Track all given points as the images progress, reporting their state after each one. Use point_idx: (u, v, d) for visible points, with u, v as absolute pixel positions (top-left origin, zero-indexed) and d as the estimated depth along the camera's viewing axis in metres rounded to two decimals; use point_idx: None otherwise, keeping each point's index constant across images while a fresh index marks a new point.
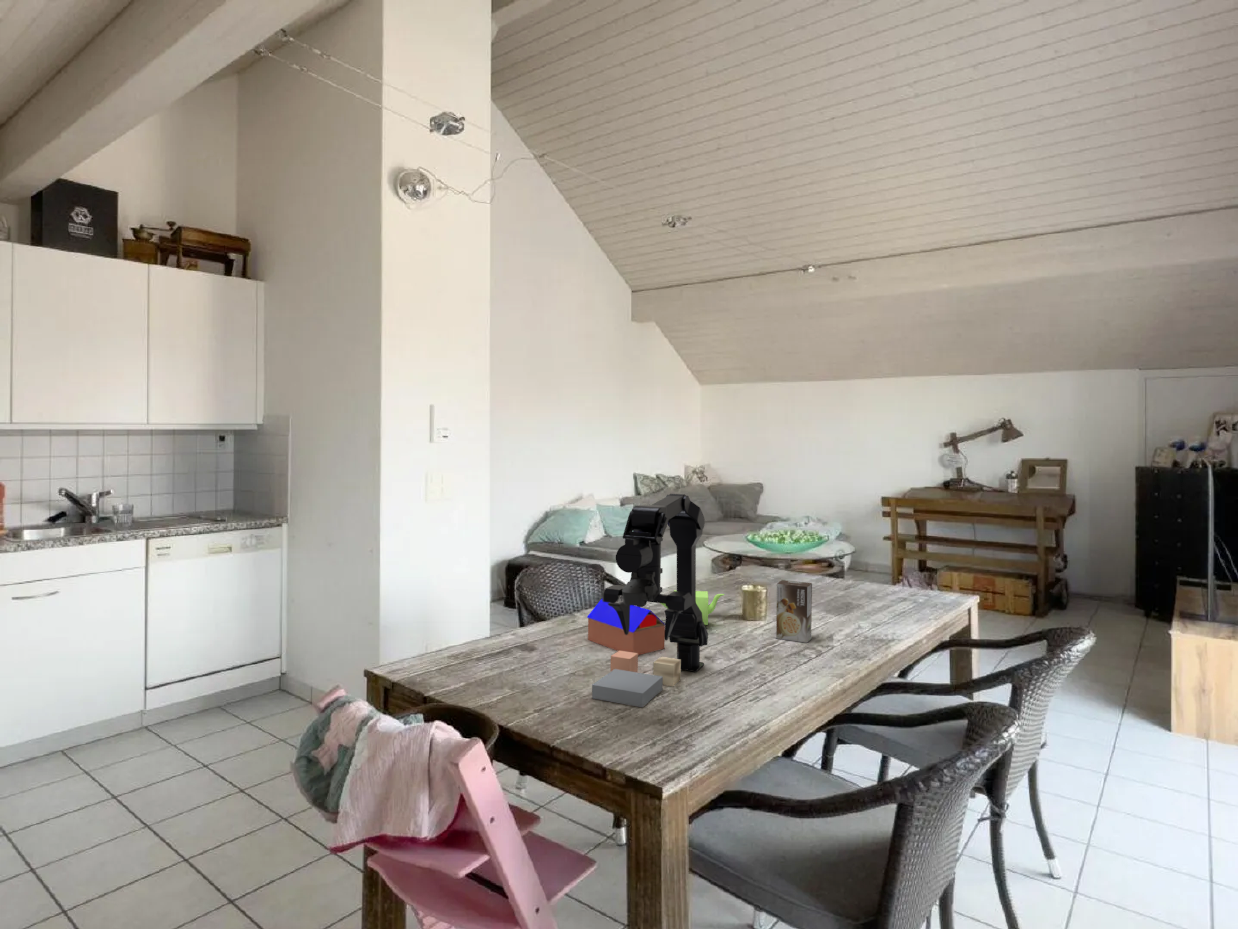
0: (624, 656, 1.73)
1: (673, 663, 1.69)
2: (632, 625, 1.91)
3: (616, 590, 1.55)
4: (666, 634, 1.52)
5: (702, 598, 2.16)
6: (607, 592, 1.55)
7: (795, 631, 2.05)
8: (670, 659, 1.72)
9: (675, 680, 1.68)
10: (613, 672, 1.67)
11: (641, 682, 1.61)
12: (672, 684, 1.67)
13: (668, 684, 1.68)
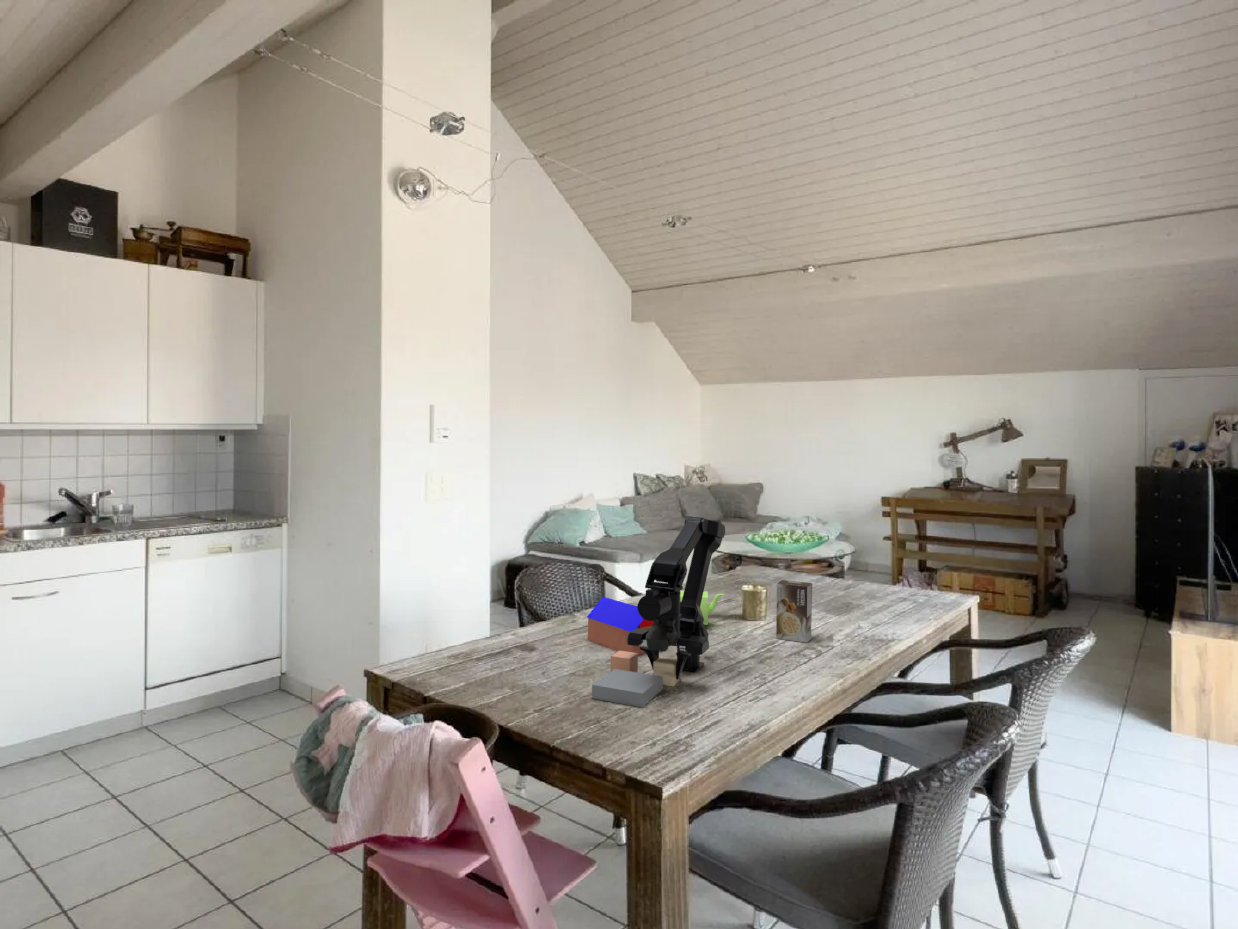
0: (624, 656, 1.73)
1: (673, 662, 1.69)
2: (632, 625, 1.91)
3: (639, 634, 1.70)
4: (677, 674, 1.68)
5: (702, 598, 2.16)
6: (631, 636, 1.71)
7: (795, 631, 2.05)
8: (670, 658, 1.72)
9: (675, 679, 1.68)
10: (613, 672, 1.67)
11: (641, 682, 1.61)
12: (672, 684, 1.67)
13: (668, 684, 1.68)
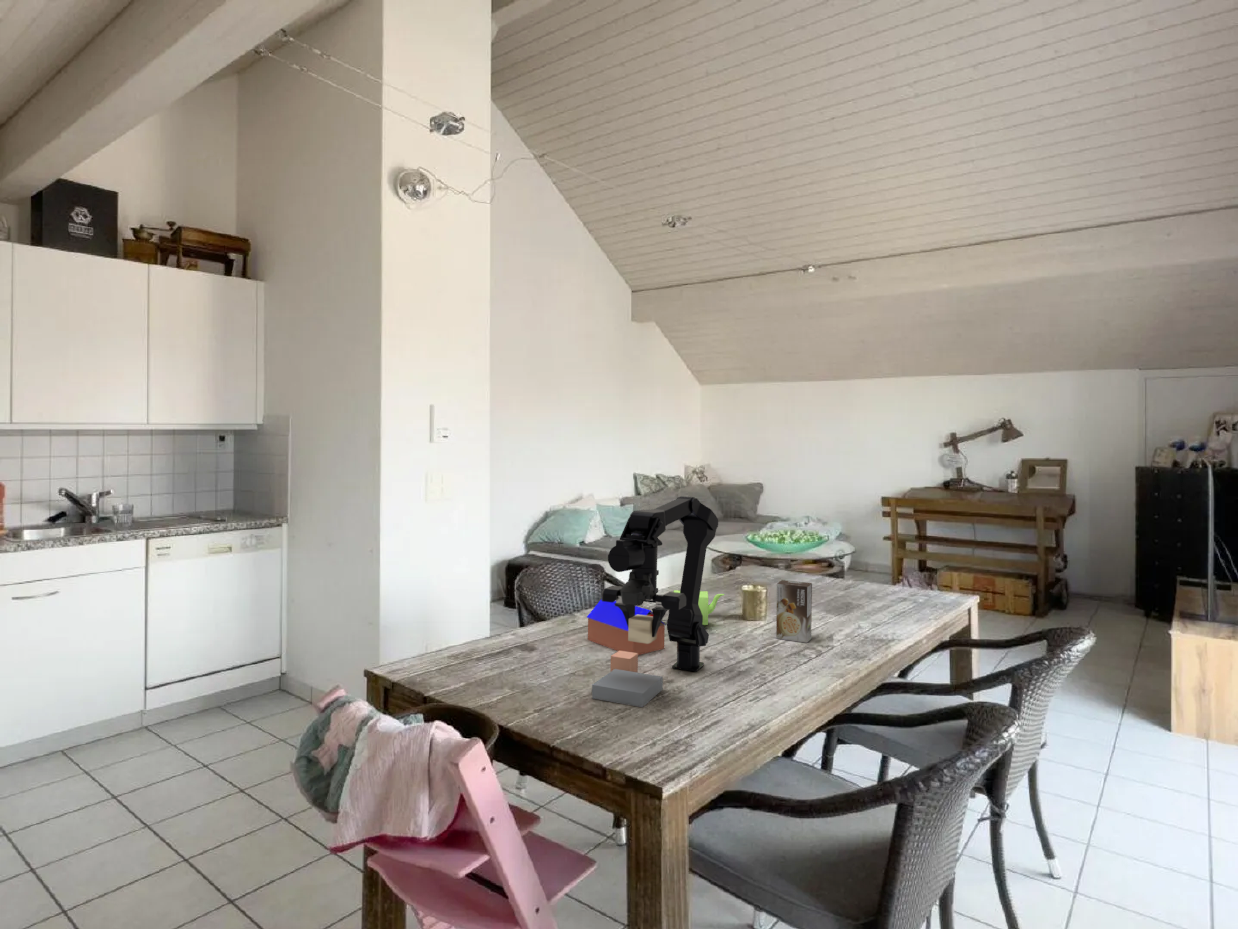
0: (624, 656, 1.73)
1: (649, 619, 1.63)
2: None
3: (615, 590, 1.64)
4: (653, 631, 1.62)
5: (702, 598, 2.16)
6: (606, 592, 1.65)
7: (795, 631, 2.05)
8: (646, 616, 1.66)
9: (651, 637, 1.62)
10: (613, 672, 1.67)
11: (641, 682, 1.61)
12: (648, 641, 1.61)
13: (643, 641, 1.61)
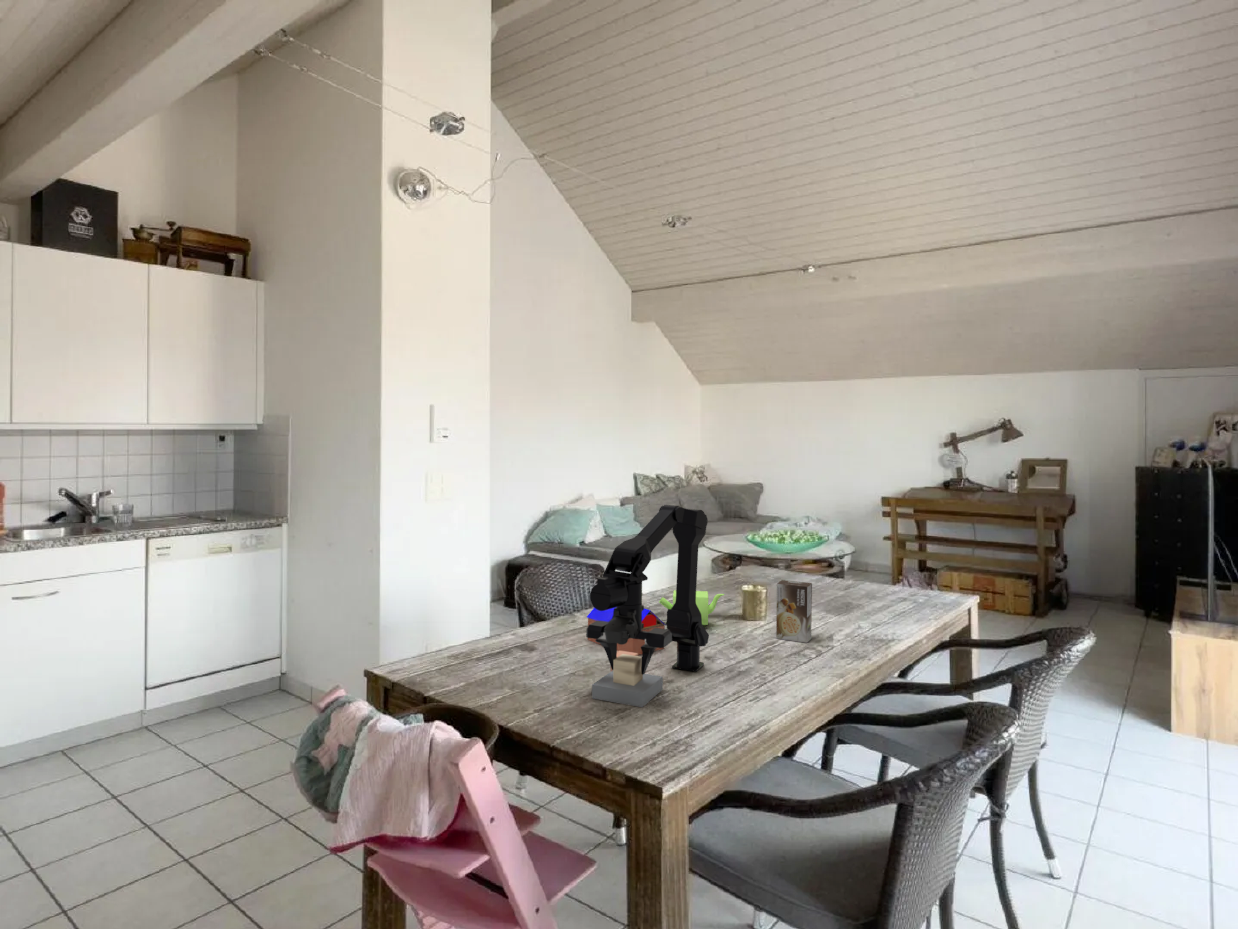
0: None
1: (634, 660, 1.60)
2: None
3: (599, 627, 1.62)
4: (643, 669, 1.60)
5: (702, 598, 2.16)
6: (591, 628, 1.62)
7: (795, 631, 2.05)
8: (632, 656, 1.63)
9: (636, 678, 1.60)
10: None
11: (641, 682, 1.61)
12: (633, 683, 1.59)
13: (629, 683, 1.59)
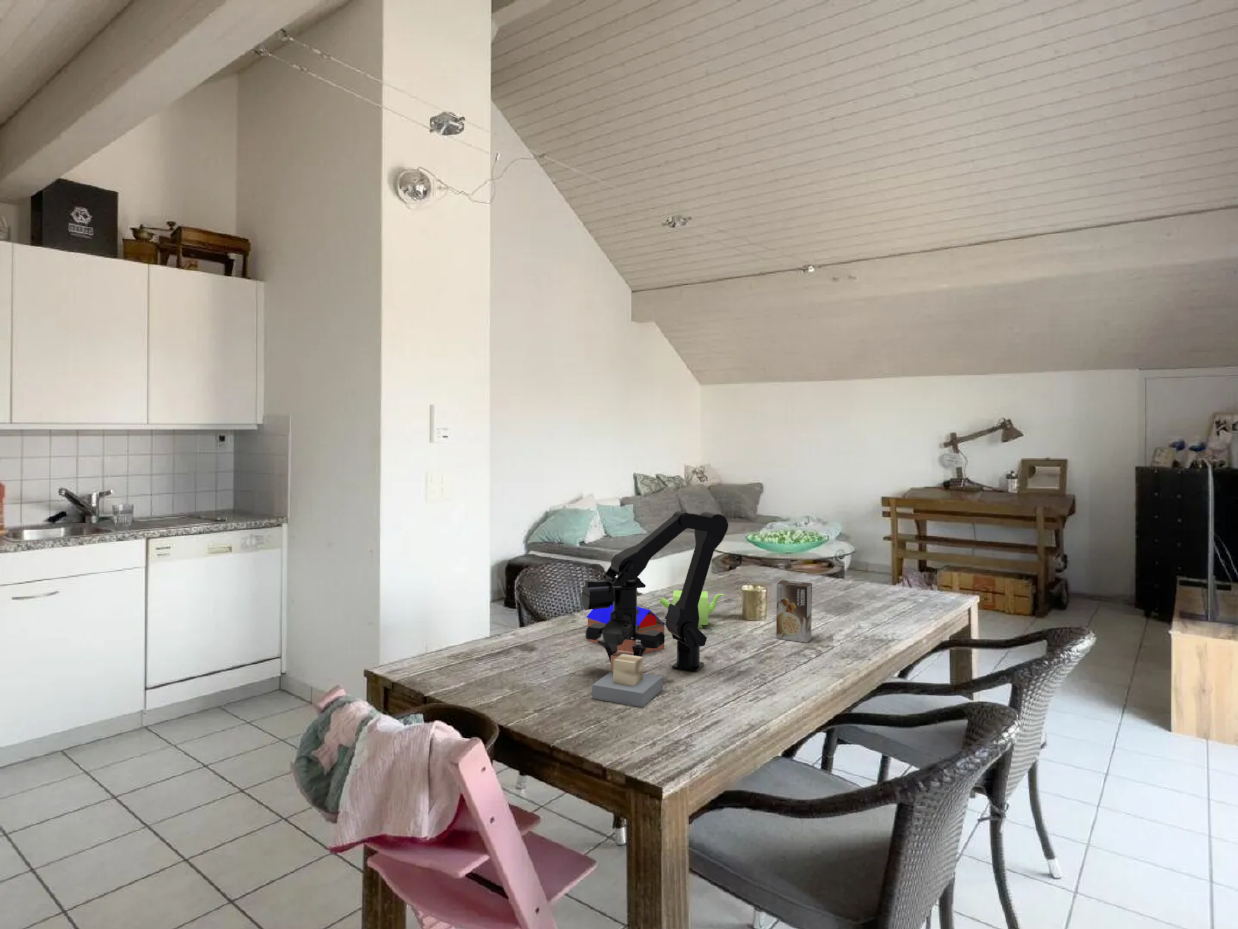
0: None
1: (634, 660, 1.60)
2: None
3: (597, 629, 1.75)
4: None
5: (702, 598, 2.16)
6: (589, 630, 1.75)
7: (795, 631, 2.05)
8: (632, 656, 1.63)
9: (636, 678, 1.60)
10: None
11: (641, 682, 1.61)
12: (633, 683, 1.59)
13: (629, 683, 1.59)
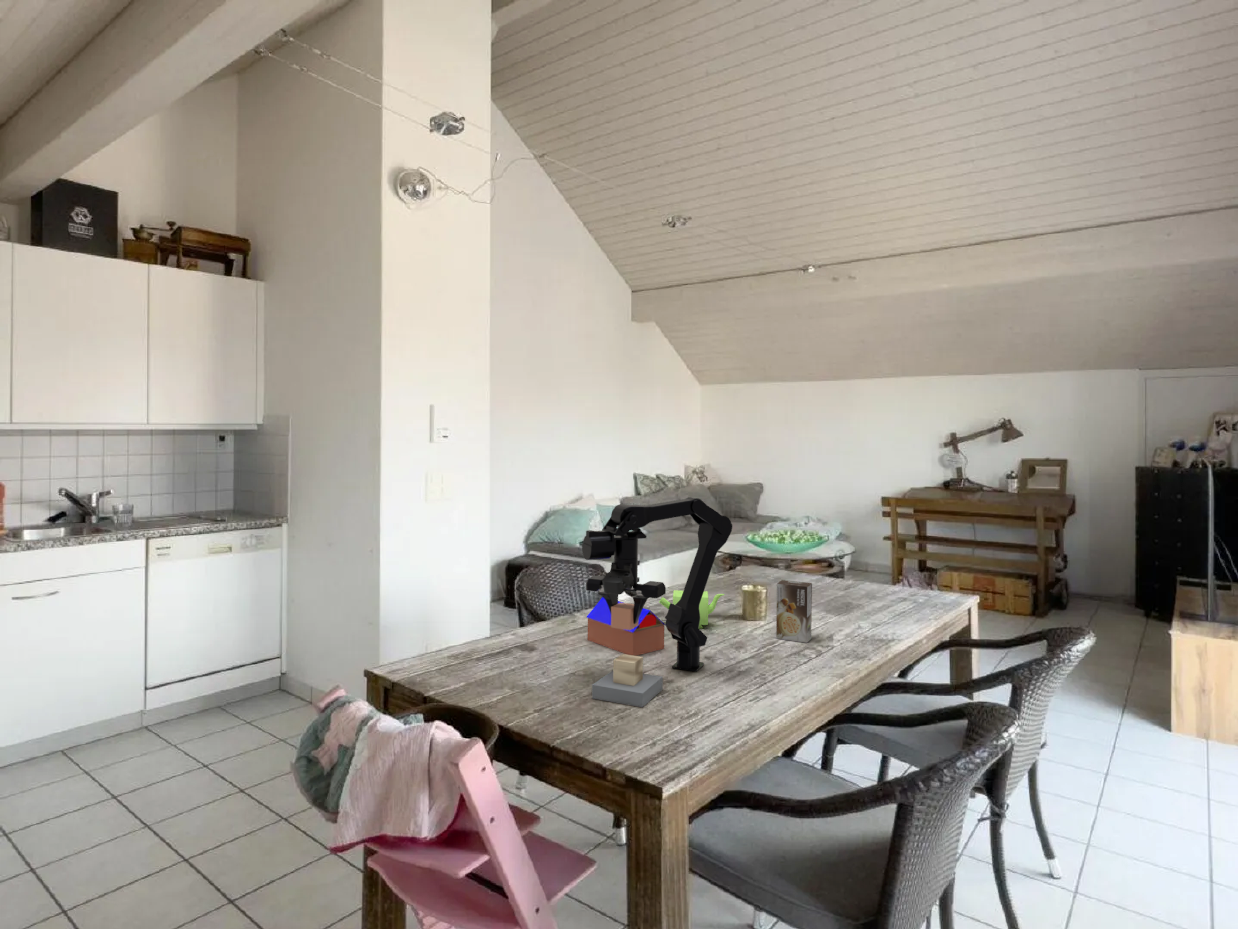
0: (625, 607, 1.72)
1: (634, 660, 1.60)
2: None
3: (598, 580, 1.74)
4: (634, 618, 1.72)
5: (702, 598, 2.16)
6: (590, 582, 1.74)
7: (795, 631, 2.05)
8: (632, 656, 1.63)
9: (636, 678, 1.60)
10: None
11: (641, 682, 1.61)
12: (633, 683, 1.59)
13: (629, 683, 1.59)
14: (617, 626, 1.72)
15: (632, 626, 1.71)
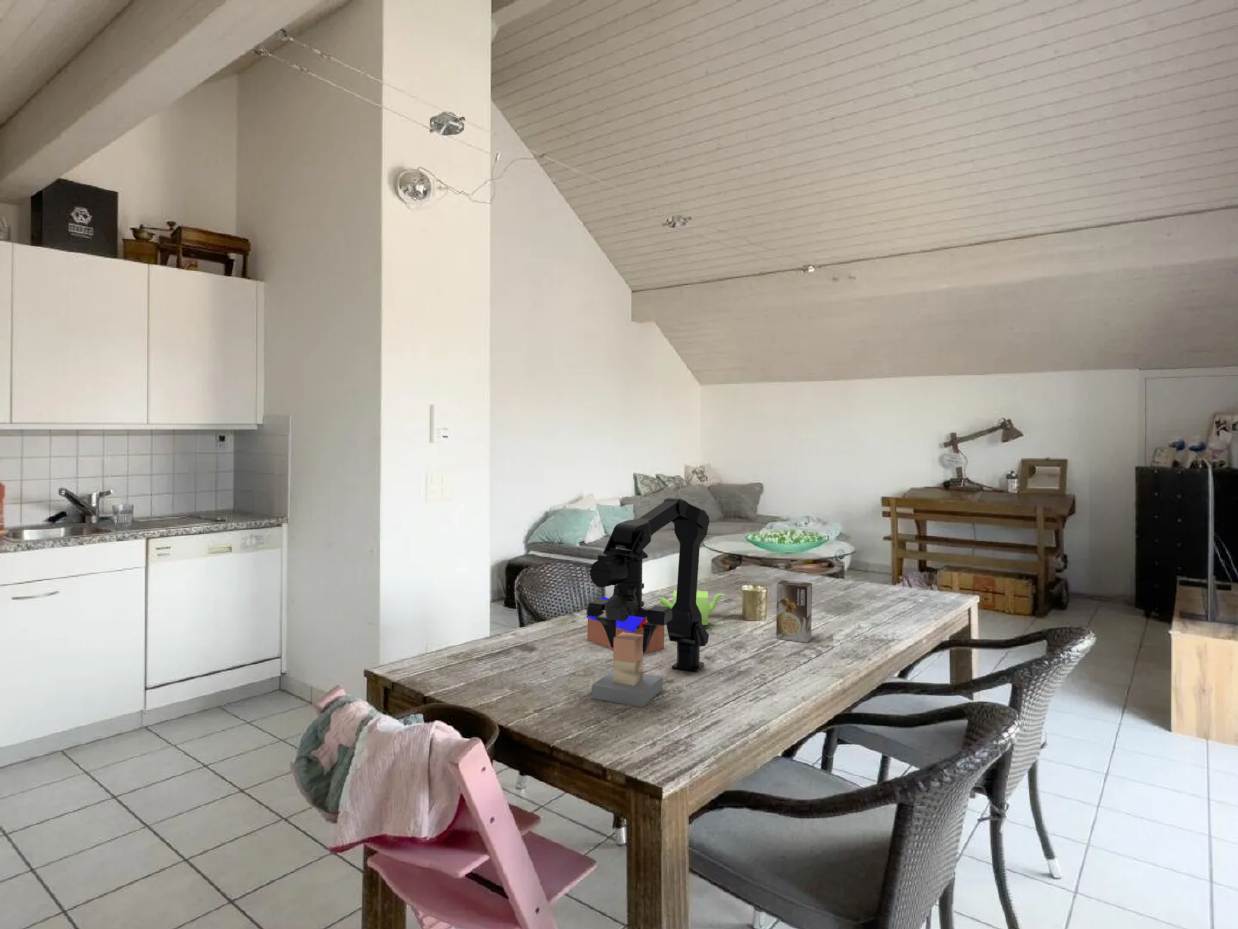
0: (628, 638, 1.60)
1: None
2: (632, 625, 1.91)
3: (599, 604, 1.62)
4: (644, 646, 1.59)
5: (702, 598, 2.16)
6: (591, 606, 1.62)
7: (795, 631, 2.05)
8: None
9: (636, 678, 1.60)
10: None
11: (641, 682, 1.61)
12: (633, 683, 1.59)
13: (629, 683, 1.59)
14: (620, 658, 1.60)
15: (636, 659, 1.59)
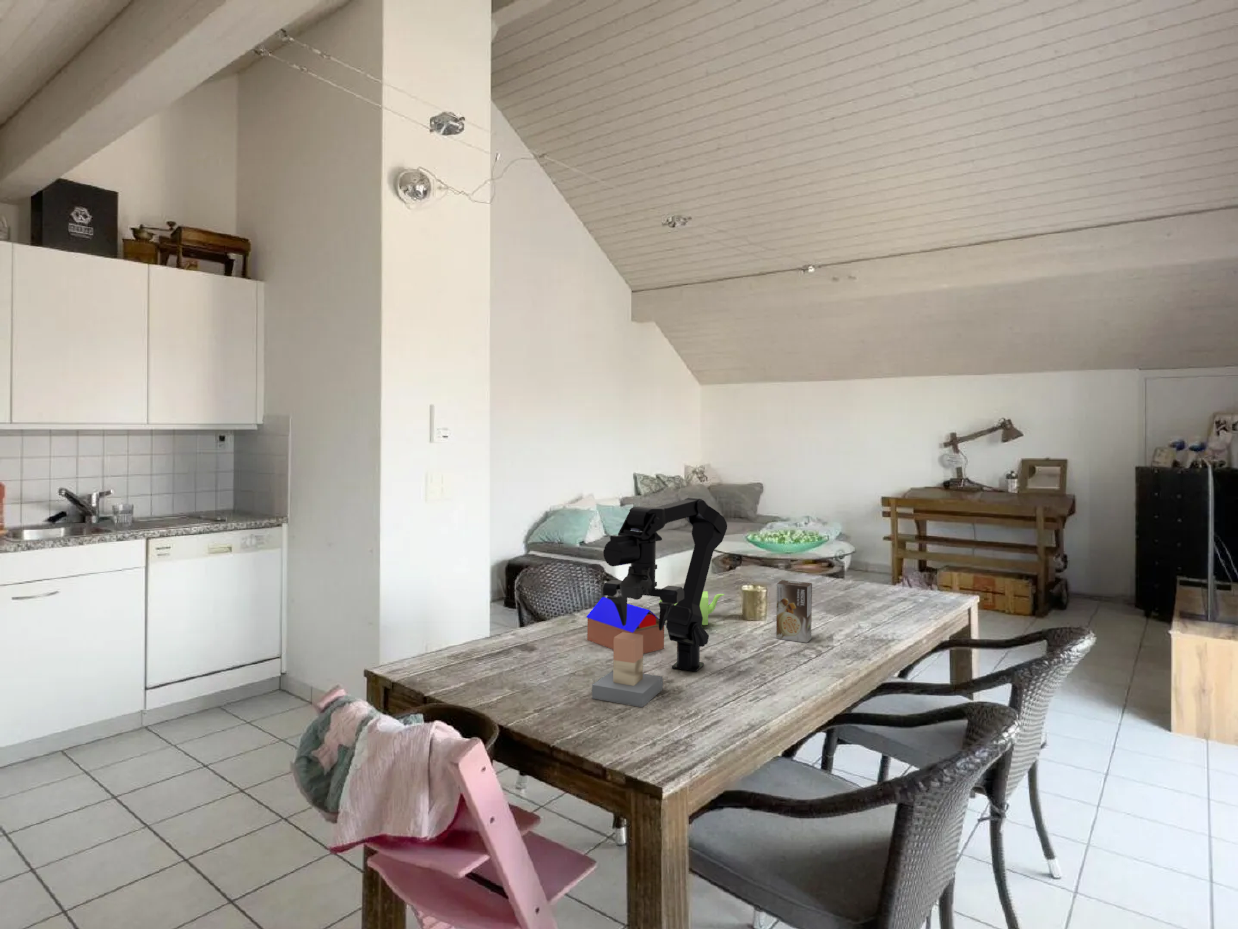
0: (628, 638, 1.60)
1: None
2: (632, 625, 1.91)
3: (614, 584, 1.69)
4: (660, 625, 1.66)
5: (702, 598, 2.16)
6: (606, 586, 1.69)
7: (795, 631, 2.05)
8: None
9: (636, 678, 1.60)
10: None
11: (641, 682, 1.61)
12: (633, 683, 1.59)
13: (629, 683, 1.59)
14: (620, 658, 1.60)
15: (636, 659, 1.59)
